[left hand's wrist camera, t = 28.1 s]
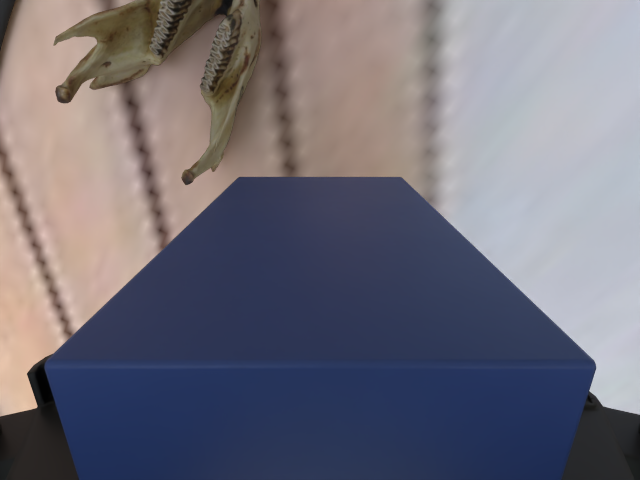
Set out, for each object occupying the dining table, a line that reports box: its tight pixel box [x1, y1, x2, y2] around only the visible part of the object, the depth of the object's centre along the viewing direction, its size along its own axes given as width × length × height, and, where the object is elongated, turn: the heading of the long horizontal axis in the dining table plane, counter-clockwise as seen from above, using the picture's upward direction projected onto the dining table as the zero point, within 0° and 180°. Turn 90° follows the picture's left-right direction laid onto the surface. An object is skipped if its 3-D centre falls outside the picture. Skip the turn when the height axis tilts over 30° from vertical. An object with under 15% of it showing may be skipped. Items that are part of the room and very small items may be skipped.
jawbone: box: [53, 0, 261, 185], centre depth 20 cm, size 9×15×10 cm
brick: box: [45, 177, 596, 480], centre depth 11 cm, size 7×7×12 cm
